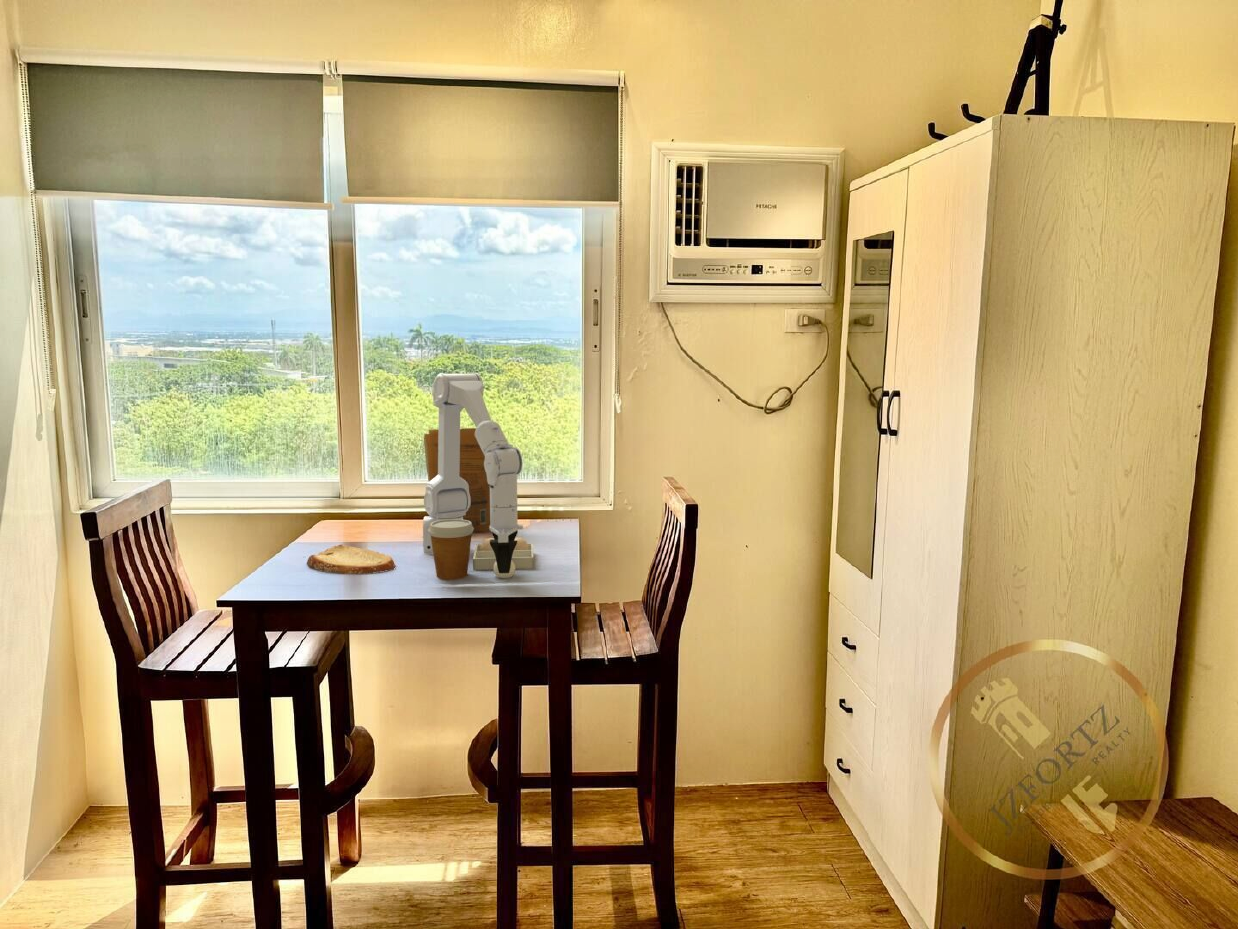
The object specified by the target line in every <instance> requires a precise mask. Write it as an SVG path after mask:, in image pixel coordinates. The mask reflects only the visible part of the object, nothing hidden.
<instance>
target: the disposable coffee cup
mask: <svg viewBox="0 0 1238 929" xmlns="http://www.w3.org/2000/svg"><path fill="white" fill-rule="evenodd" d="M473 530H474V528H473V527H472V523H471V522H470V521H468V520H462V519H446V520H438V521H434V522H432V523H431V524H430V528H429V529H428V532H429V534H430V535H431V542H432V548H433V554H432V555H433V560H434V566H435V567H434V568H435V572H436V573H435V574H436V578H437V579H439V580H443V581H444V580H445V581H455V580H461V579H464V578H466V577H467V576H468V572H469V571H468V570H469V564H470V563H469V562H470V554H471V553H470V552H471V544H472V534H473V533H474V532H473Z"/></svg>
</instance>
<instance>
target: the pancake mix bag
mask: <svg viewBox="0 0 1238 929" xmlns="http://www.w3.org/2000/svg"><path fill="white" fill-rule="evenodd" d="M476 429H477V428H476V427H470V428H469V427H467V428H460V470H459V477H461V478H462V479H464V480H465V481H466V482H467V483H468V486H469V494H470V498H471V504H470V507H469V509H468V511H467V512H466V515H464V516H463V520H468V521H470V522H471V523H472V527H473V528H474V530H473V533H482V534H483V533H488V532H491V531H490V529H489V526H490V484H488V481H487V474H486V471H485V468H484V461H485V456H484V454H483V452H482V450H481V448H480V445H479V443H478V441H477V439H476V437H475V430H476ZM423 447H424V454H425V467H426V468H425V469H426V474H427V479H428V480H427V482H429V481H431V480H432V479H433V478H435V477H436V476H437V475H438V429H429V430H428V433H424V434H423Z"/></svg>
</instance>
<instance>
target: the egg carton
mask: <svg viewBox="0 0 1238 929" xmlns="http://www.w3.org/2000/svg"><path fill="white" fill-rule="evenodd" d="M481 544H482V543H479V544H475V549H474V553H473V556H472V557H473V558H472V570H477V571H478V570H494V564H495V562H496V557H495V554H494V551H481V550H480V547H481ZM527 544H528V550H514V551H513V555H512V561H513V562H514V564H515V570H516V569H518V570H520V569H521V570H522V569H525V570H526V569H534V543H533V542H532V543H531V542H529V543H528V542H527Z"/></svg>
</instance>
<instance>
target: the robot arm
mask: <svg viewBox="0 0 1238 929" xmlns="http://www.w3.org/2000/svg"><path fill="white" fill-rule="evenodd" d="M432 385H433V386H432V387H433V388H432V392H433V393H432V401H433V406H434V407H436V408H438V429H437V430H438V475H437V476H436V477H435V478H433V479H432V480H431V481H427V483H426V486H425V493H424V497H423V506H424V509H425V511H426V513H427V514H428V516H424V517H423V522H422V523H423V525H422V547H423V555H433V548H432V542H431V535H430V534H429V532H428V529H429V528H430V524H431V523H432V522H434V521H438V520H446V519H462V520H463V516H464V515H466V512H467V511H468V509H469V507H470V504H471V498H470V494H469V486H468V483H467V482H466V481H465V480H464V479H462V478H461V477H459V470H460V429H461V412H462V411H463V410H465V411H466V413H467V415H468V416H469V418H470V420H471V421H472V423H473V424H474V426H475V428H477V429H476V430H475V437H476V439H477V441H478V443H479V445H480V448H481V450H482V452H483V454H484V456H485V461H484V468H485V471H486V474H487V481H488V484H490V526H489V529H490V531H489V532H491V536H492V538H494V539H495V540H490V545H491V547H492V549H493V551H494V554H495V557H496V562H497V567H498V571H499V573H509V571H510V567H511V560H512V555H513V551H514V549H515V547H516V544H517V541H514V540H515V538H517V536H518V532H519V530H524V524H518V523H519V522H518V475H520V473H521V472H522V469H523V457H522V454H521V451H520V449H519V448H518V447H515V446H514V445H513V444H510V443H509V441H508V439H507V437H506V435H505V434H504V432H503V429H502V427H501V426H500V424H499V423H498V422H497V421H493V420H492V418H491V416H490V414H489V413H490V412H489V410H488V409H487V405H486V403H485V400H484V398H483V397H484V381H483V378H482V377H481V375H480V374H479V373H478V372H472V373H444V372H442V373H441V372H440V373H439V374H438V375H436V377H435V379H434V380H433V384H432Z"/></svg>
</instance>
